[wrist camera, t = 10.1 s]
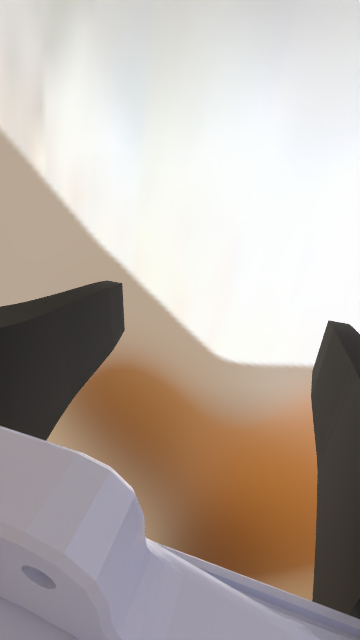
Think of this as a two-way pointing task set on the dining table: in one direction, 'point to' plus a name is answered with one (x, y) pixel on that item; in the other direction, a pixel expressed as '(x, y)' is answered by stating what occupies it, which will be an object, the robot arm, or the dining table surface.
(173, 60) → the dining table surface
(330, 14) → the dining table surface
